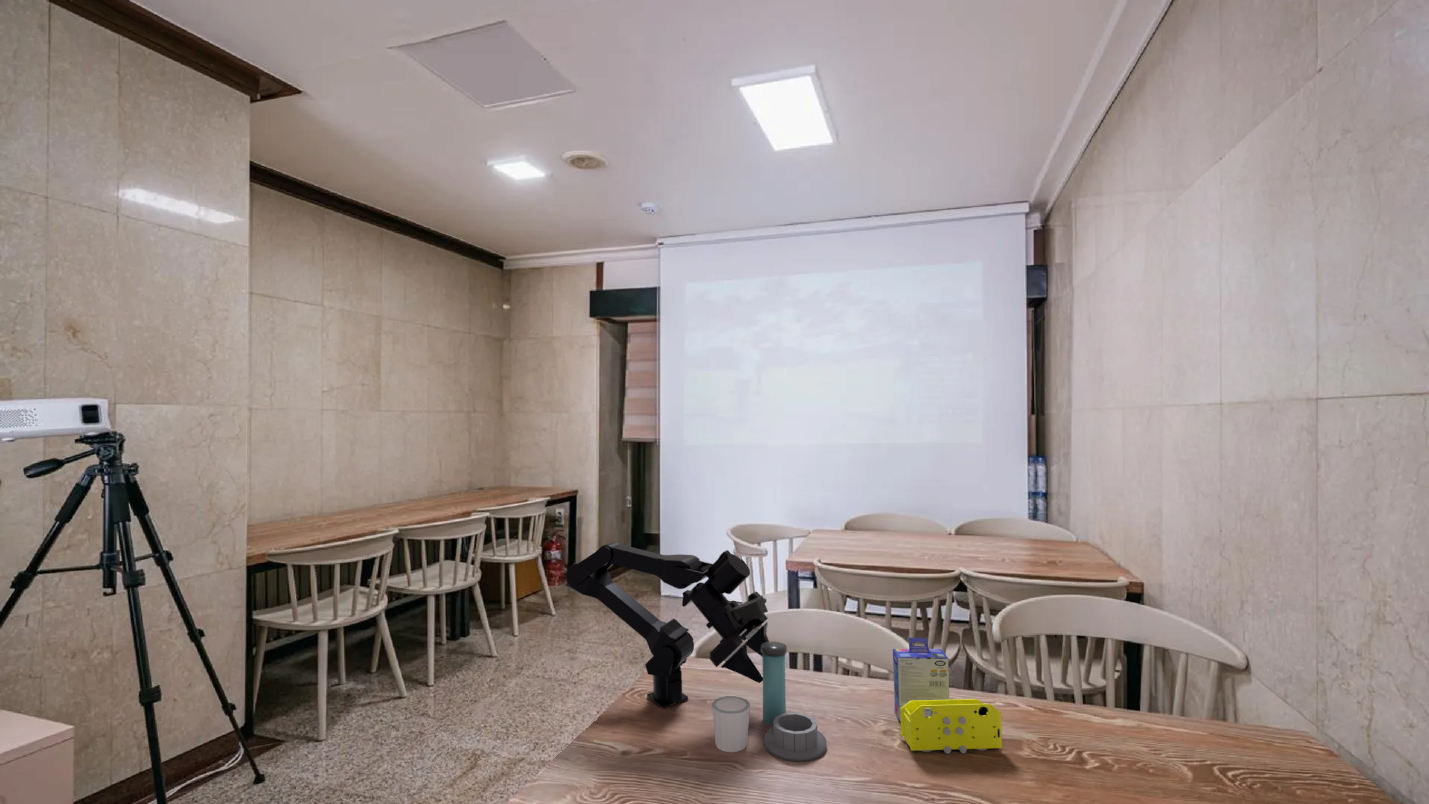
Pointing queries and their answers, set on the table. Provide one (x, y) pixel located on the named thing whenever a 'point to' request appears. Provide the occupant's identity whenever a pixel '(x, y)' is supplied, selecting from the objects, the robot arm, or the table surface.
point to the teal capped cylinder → (773, 680)
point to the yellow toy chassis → (951, 725)
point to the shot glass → (731, 723)
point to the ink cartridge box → (919, 674)
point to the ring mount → (795, 738)
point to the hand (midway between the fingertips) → (769, 672)
